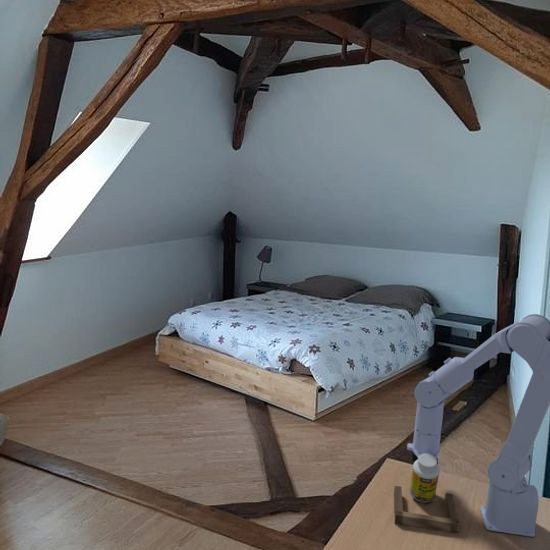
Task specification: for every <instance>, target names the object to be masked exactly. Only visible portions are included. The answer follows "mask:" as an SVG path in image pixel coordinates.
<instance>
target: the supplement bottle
mask: <svg viewBox="0 0 550 550" xmlns="http://www.w3.org/2000/svg"><path fill="white" fill-rule="evenodd" d="M422 470H423V471H422ZM431 472H432V473H431ZM439 477H440V467H439V465H437V460H436V458H435V457H434V456H433V455H431V454H427V453H424V454H421V455H420V456H419V457H418V460H416V461H415V462H414V463H413V464H412V472H411V479H410V486H409V494H410V495H411V497H412V498H413V499H415V501H418V502H420V503H429V502H432V501H433V500H434V499H435V497H436V492H437V489H438V488H437V486H438V482H439Z"/></svg>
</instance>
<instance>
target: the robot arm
mask: <svg viewBox="0 0 550 550" xmlns="http://www.w3.org/2000/svg"><path fill="white" fill-rule="evenodd" d="M513 352H515V353H516V354H517V355H518V356H519V357H520V358H522V359H523V360H524V361H525V362H526V363H527V365H528V366H529V367H530V369H531V371H532V375H531V377H530V379H529V382H528V385H527V386H526V389H525V393H524V395H523V397H522V400H521V402H520V405H519V408H518V411H517V413H516V415H515V418H514V421H513V423H512V426H511V428H510V431H509V433H508V436H507V437H506V438H507V439H506V441H505V443H504V444H503V446H502V448H501V450H500V451H499V455H498V456H497V457H496V458H495V460H493V461H492V462H491V463H490V464H489V465H488V469H487V476H488V478H489V480H488V488H487V495H486V501H485V502H486V503H485V505H481V506H480V507H479V509H480V512H481V516H482V520H483V524H484V527H485V529H486V530H487V531H490V532H492V531H493V532H497V533H506V534H511V535H519V536H525V537H532V538H534V537H535V536H536V533H535V531H536V526H537V525H536V523H537V519H538V518H537V517H538V512H539V493H538V489H537V487H536V486H535V485H533V484H530V483H528V482H527V479H526V478H527V477H526V475H527V474H528V472H529V471H530V470H531V469H532V467H533V459H532V452H533V450H534V444H535V441H536V439H537V437H538V433H539V431H540V430H541V427H542V424H543V421H544V420H545V417H546V414H547V412H548V409H549V407H550V320H549V319H548V318H547V317H545V316H544V315H541V314H537V313H533V314H528V315H526V316H525V317H524V318H522V319H521V321H516V322H514V323H513V324H510V325H509V326H506V327H504V328H503V329H501V330H500V331H498V332H497V333H496V332H495V334H493V335H491V336H490V337H489V338H488V339H487V340H485V341H484V342H482V344H480V345H479V346H478V347H477V348H475V349H474V350H473V351H471V352H470V353H469V354H467V355H466V356H465V357H459V356H455V357H453V358H451V357H448V358H447V359H446V360H444V361H443V363H444V364H443V365H442V366H441V367H439V368H438V369H437V370H435V371H434V370H432V371H431V372H430V373H429V372H428V377H427V378H425V379H423V380H421V381H419V382H418V384H417V385H416V387H415V388H414V394H413V395H414V397H415V400H416V403H417V405H416V411H415V413H416V414H415V422H414V430H413V440H412V443H407V447H406V448H407V450H408V451H410V452H411V460H412V463H413V464H414V462H415V461H416V460H418V457H419V456H420V455H421V454H424V453H427V454H431V455H433V456H434V457H435V458H436V460H437V465H438V464H439V460H438V457H439V455H440V454H441V453H440V452H441V450H440V443H441V437H442V436H441V435H442V425H443V417H444V407H445V406H444V405H445V400H447V398H448V397H449V396H451V395H453V394H454V393H456V392H457V391H458V390H459V389H461V388H462V387H464V386H465V385H467V384H468V383H469V382H471V381H472V380H473V379H474V376H475V375H474V374H475V373H474V372H475V370H476V369H478V368H480V367H481V366H482V365H483V364H486V363H487V362H488V361H489V360H491V359H493V358H494V357H496V356H497V355H498V354H500V353H504V354H512V353H513ZM438 466H439V465H438ZM422 471H423V470H422ZM431 473H432V472H431Z"/></svg>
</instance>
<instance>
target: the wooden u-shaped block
mask: <svg viewBox="0 0 550 550" xmlns="http://www.w3.org/2000/svg"><path fill="white" fill-rule="evenodd" d="M444 505H445V506H444V507H445V511H446V517H441V516H434V515H428V514H421V513H414V512H407V511H404V509H403V490H402V486H399V485H394V487H393V507H394V508H393V509H394V511H393V512H394V524H396V525H401V526H402V525H403V526H408V527H409V526H410V527H415V528H422V529H426V530H427V529H428V530H435V531H442V532H448V533H453V534H459V528H460V522H459V518H458V514H457V512H458V511H457V508H456V502H455V499H454V494H453V493H447V492H445V496H444Z"/></svg>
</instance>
